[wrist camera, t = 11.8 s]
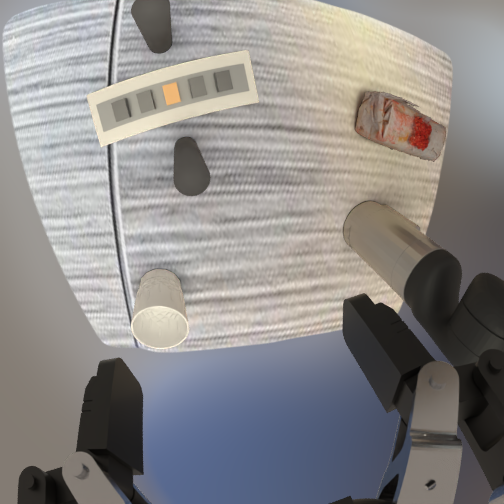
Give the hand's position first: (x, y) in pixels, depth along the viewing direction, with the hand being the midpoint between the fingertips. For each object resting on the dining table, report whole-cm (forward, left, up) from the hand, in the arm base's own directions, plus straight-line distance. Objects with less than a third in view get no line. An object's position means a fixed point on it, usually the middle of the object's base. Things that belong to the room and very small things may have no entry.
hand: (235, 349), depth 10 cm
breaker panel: (0, -9, -33) cm, 34 cm away
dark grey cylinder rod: (0, -1, -33) cm, 33 cm away
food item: (-31, +1, -33) cm, 46 cm away
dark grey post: (0, -16, -33) cm, 37 cm away
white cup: (+10, +18, -33) cm, 39 cm away
